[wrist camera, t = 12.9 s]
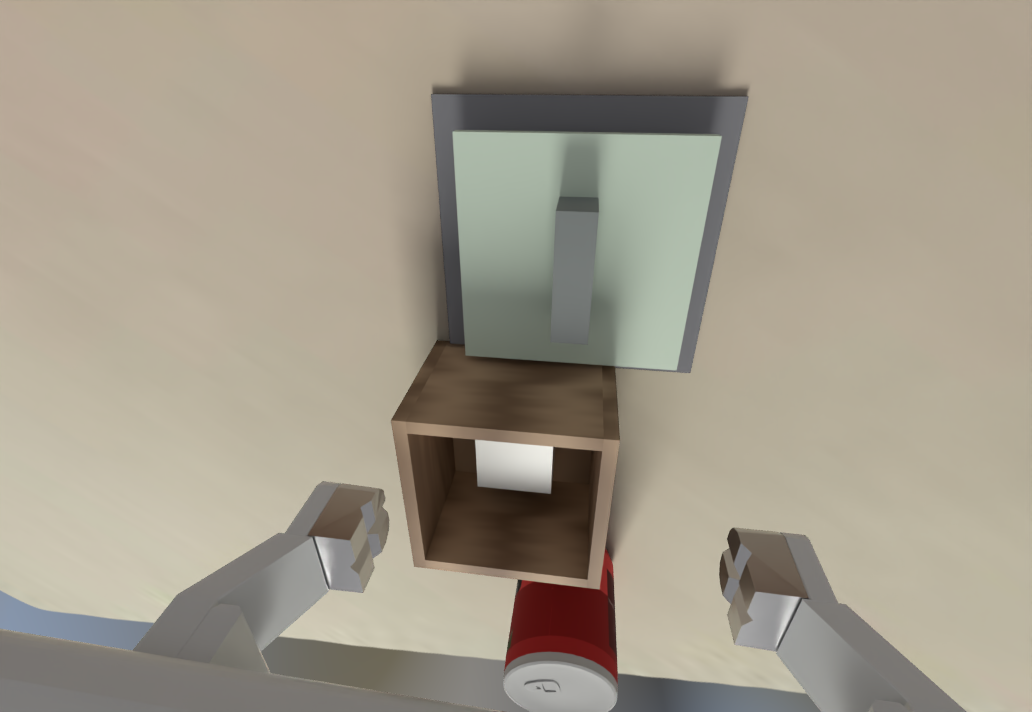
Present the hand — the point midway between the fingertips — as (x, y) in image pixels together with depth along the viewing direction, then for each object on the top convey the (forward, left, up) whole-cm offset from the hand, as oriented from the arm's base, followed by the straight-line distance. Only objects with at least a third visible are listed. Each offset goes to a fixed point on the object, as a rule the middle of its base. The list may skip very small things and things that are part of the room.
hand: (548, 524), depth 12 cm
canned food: (-1, +28, -21) cm, 35 cm away
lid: (0, 0, -20) cm, 20 cm away
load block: (+3, +13, -20) cm, 24 cm away
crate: (+3, +13, -21) cm, 25 cm away
